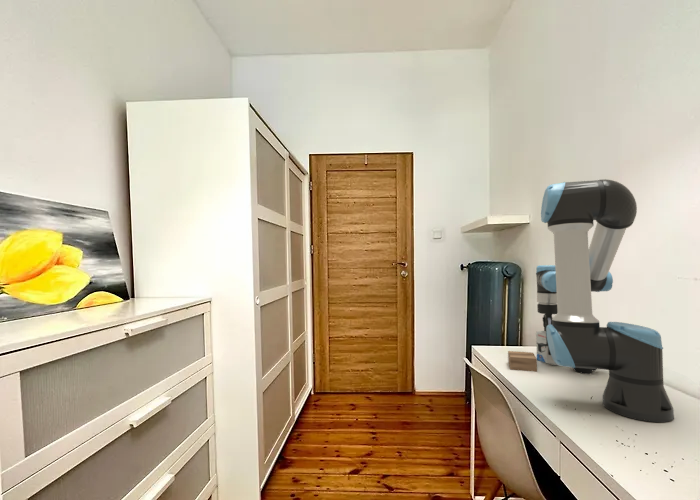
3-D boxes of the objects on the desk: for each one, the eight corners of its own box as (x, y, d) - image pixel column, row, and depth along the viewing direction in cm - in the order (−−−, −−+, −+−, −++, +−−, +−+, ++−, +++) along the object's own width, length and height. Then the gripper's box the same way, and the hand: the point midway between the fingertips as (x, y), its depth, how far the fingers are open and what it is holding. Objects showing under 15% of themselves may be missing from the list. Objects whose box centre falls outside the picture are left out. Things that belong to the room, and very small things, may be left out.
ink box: (536, 359, 144) (535, 331, 145) (545, 358, 146) (544, 330, 146) (553, 365, 136) (552, 335, 137) (563, 364, 138) (562, 334, 138)
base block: (537, 372, 130) (536, 358, 130) (510, 370, 133) (510, 356, 133) (533, 365, 138) (533, 352, 138) (508, 363, 141) (508, 350, 141)
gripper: (561, 307, 130) (563, 368, 130) (556, 300, 150) (557, 353, 149) (538, 306, 134) (540, 366, 133) (536, 300, 153) (537, 351, 153)
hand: (549, 359), depth 141 cm, fingers closed on ink box, 9 cm apart
